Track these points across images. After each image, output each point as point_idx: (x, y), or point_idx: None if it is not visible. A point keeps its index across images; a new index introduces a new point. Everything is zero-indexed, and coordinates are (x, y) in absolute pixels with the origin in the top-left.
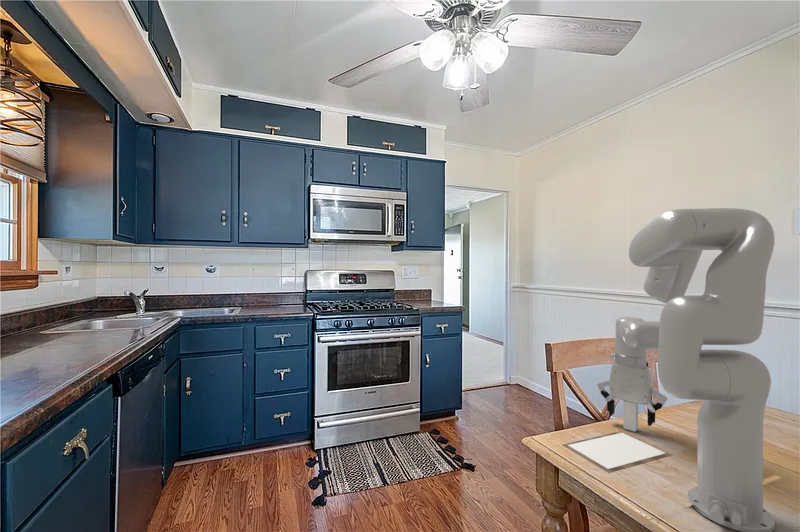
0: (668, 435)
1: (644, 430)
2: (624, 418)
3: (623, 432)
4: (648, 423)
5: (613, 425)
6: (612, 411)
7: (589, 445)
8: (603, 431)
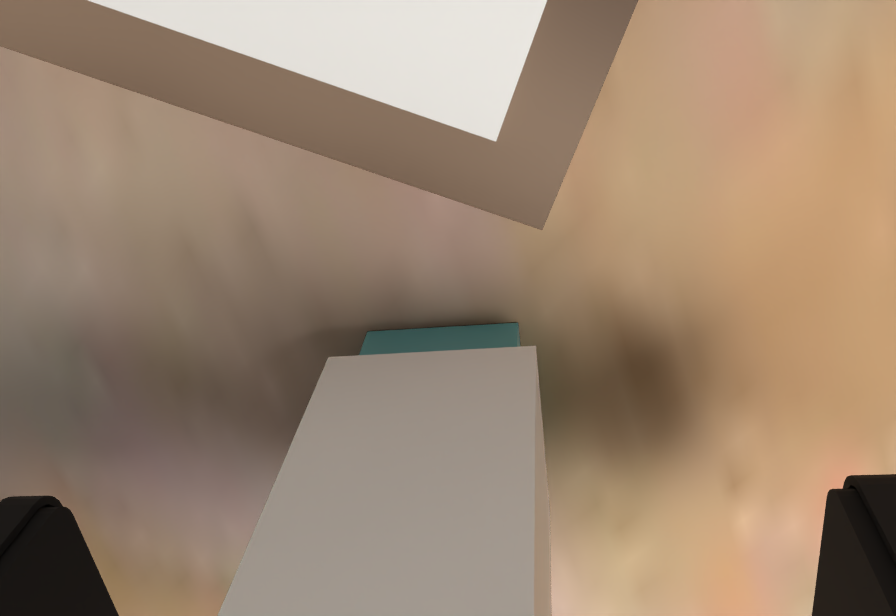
0: None
1: None
2: (513, 486)
3: (491, 199)
4: (14, 522)
5: (755, 457)
6: (855, 607)
7: None
8: (867, 49)
